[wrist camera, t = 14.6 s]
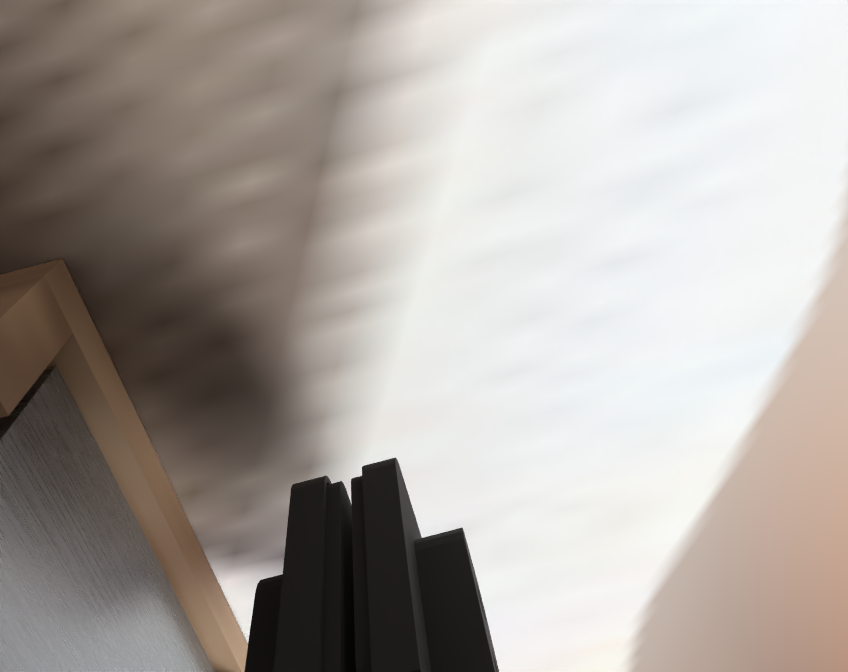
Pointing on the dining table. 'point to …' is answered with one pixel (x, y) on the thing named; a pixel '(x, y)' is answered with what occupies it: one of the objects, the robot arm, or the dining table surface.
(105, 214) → the dining table surface
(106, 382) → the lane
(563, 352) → the dining table surface
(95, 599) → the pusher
